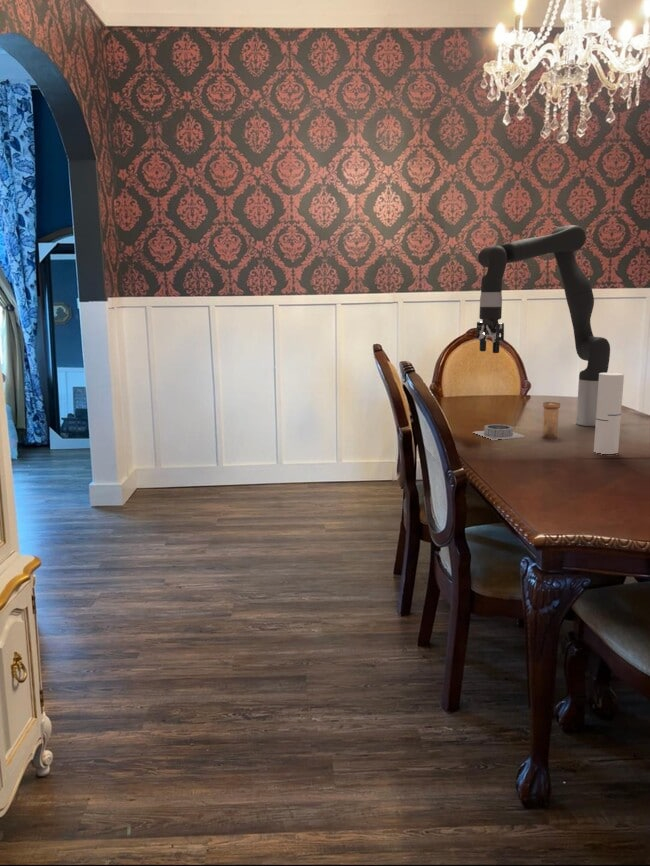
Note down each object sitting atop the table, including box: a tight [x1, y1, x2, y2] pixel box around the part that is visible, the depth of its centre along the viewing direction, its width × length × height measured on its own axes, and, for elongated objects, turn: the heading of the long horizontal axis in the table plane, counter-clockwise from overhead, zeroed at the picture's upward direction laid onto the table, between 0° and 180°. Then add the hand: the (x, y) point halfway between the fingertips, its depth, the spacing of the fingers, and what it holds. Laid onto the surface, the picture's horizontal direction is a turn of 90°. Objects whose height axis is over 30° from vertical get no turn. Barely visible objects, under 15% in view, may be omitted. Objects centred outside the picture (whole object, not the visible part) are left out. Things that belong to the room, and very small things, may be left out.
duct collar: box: [472, 423, 526, 441], centre depth 247 cm, size 13×13×3 cm
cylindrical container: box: [593, 372, 625, 455], centre depth 217 cm, size 7×7×25 cm
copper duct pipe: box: [541, 401, 561, 439], centre depth 242 cm, size 6×6×12 cm
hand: (489, 352), depth 245 cm, fingers open, 8 cm apart
